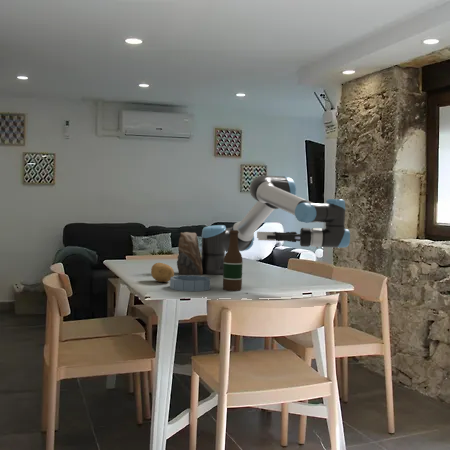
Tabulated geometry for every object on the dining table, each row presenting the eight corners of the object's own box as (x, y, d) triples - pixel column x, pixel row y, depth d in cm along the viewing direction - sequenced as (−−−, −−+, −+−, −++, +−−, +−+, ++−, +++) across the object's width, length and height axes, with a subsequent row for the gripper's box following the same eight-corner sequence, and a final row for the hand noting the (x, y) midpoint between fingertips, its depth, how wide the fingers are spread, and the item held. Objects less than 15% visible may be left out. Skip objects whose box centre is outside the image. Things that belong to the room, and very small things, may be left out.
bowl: (172, 284, 240) (172, 274, 240) (210, 285, 240) (211, 276, 240) (168, 290, 224) (168, 280, 224) (209, 291, 224) (209, 281, 224)
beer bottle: (224, 291, 227) (226, 230, 226) (221, 288, 235) (222, 229, 234) (243, 291, 229) (245, 231, 228) (239, 288, 236) (241, 229, 235)
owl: (176, 274, 272) (178, 232, 271) (174, 271, 284) (175, 231, 283) (203, 275, 274) (204, 233, 273) (199, 271, 287) (200, 231, 286)
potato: (157, 284, 238) (157, 265, 238) (146, 280, 250) (146, 262, 250) (179, 284, 242) (179, 265, 242) (167, 279, 255) (168, 261, 254)
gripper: (314, 249, 218) (258, 247, 218) (306, 244, 243) (256, 243, 243) (315, 229, 218) (259, 227, 218) (307, 226, 243) (256, 225, 243)
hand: (257, 235), depth 231 cm, fingers open, 13 cm apart
